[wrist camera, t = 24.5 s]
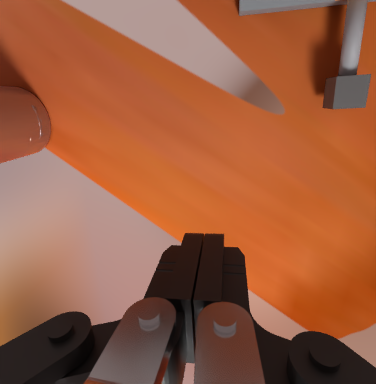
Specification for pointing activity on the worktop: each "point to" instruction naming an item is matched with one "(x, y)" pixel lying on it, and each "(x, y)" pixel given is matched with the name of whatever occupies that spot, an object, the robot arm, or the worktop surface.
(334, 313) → the worktop surface
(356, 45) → the vise jaw
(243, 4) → the vise
